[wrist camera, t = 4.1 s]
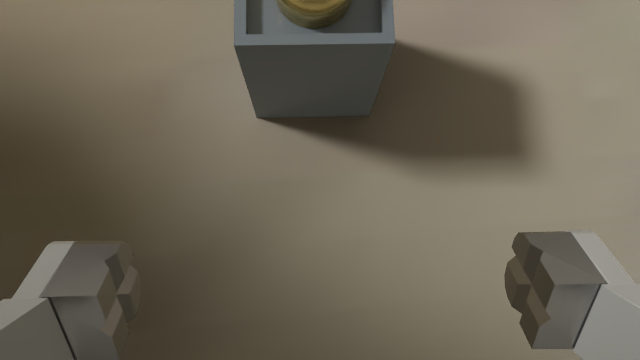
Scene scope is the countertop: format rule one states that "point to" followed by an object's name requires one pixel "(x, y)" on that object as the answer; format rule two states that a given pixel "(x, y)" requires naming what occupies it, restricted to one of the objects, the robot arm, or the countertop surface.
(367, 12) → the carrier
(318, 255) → the countertop surface
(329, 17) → the ball
